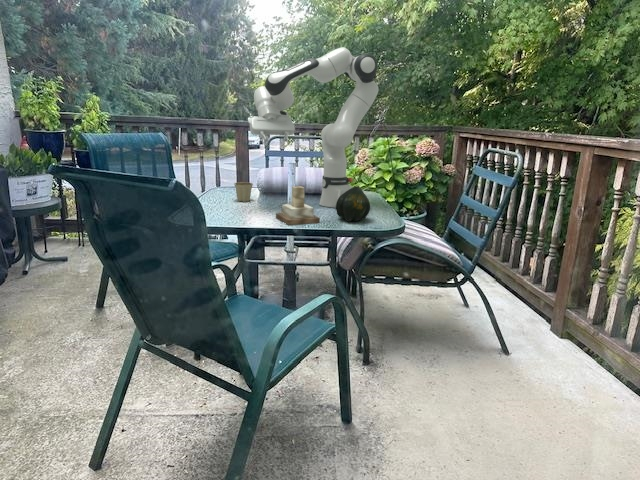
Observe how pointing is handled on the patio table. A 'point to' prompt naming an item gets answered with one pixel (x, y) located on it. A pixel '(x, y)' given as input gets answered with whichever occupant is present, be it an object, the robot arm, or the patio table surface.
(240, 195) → the flower pot
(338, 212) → the squash
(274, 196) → the patio table surface
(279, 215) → the plinth
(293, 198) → the birch block
